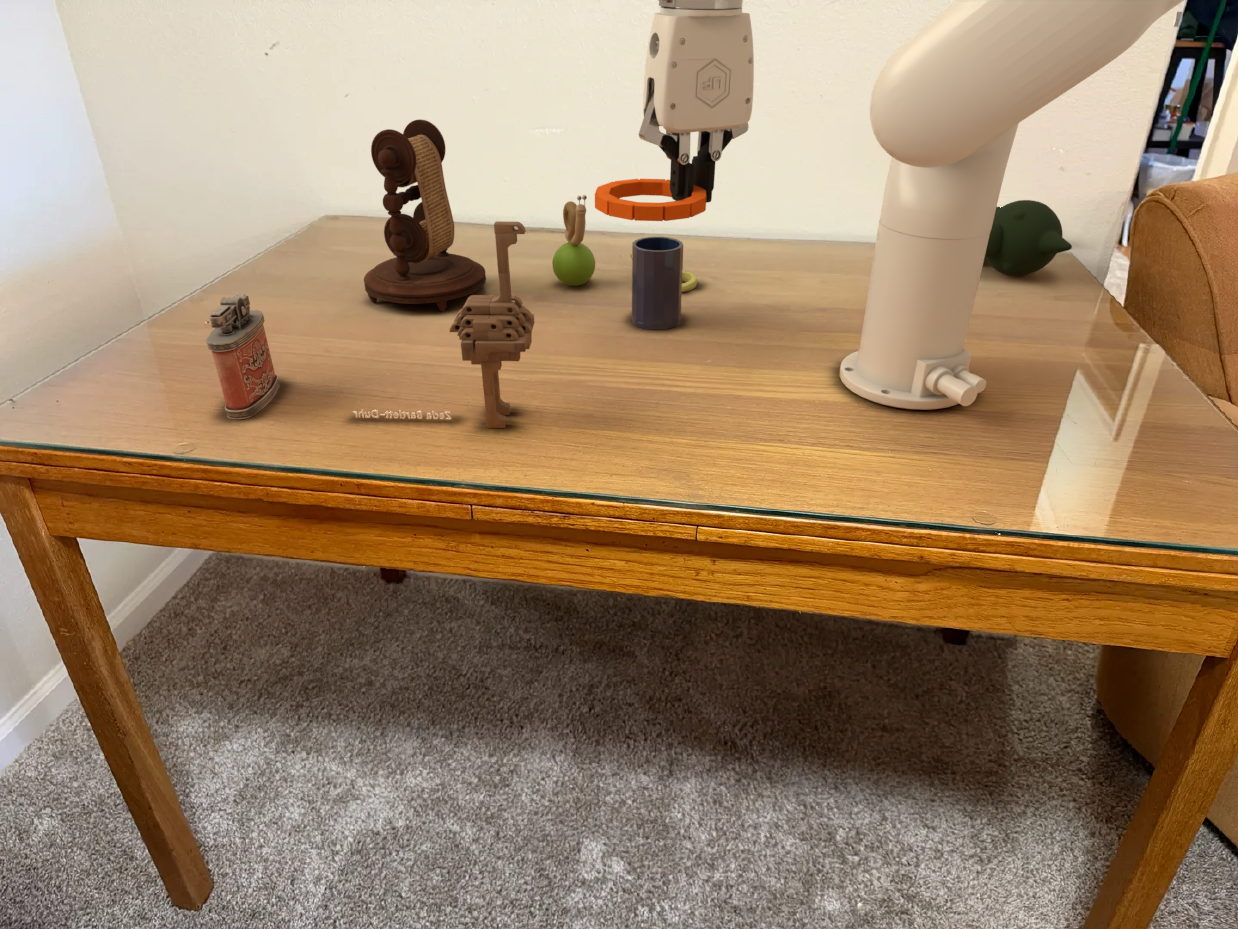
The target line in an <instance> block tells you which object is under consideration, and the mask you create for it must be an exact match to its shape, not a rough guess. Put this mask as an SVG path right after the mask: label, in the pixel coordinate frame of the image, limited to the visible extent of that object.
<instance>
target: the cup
mask: <svg viewBox="0 0 1238 929" xmlns="http://www.w3.org/2000/svg"><path fill="white" fill-rule="evenodd" d="M631 254H632V257H631V323H632V324H633V325H635V326H636V327H638V328H641V329H646V330H650V331H651V330H652V331H660V330H661V331H662V330H668V329H672V328H675V327H677V326H678V325H679V324H680V323H681V317H682V297H683V295H682V293H683V292H682V284H683V281H682V271H684V270H683V269H684V268H683V264H684V243H683V241H682V240H680V239H677V238H674V237H667V236H646V237H645V236H644V237H640V238H637V239H635V240H634V241H632V243H631Z"/></svg>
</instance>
